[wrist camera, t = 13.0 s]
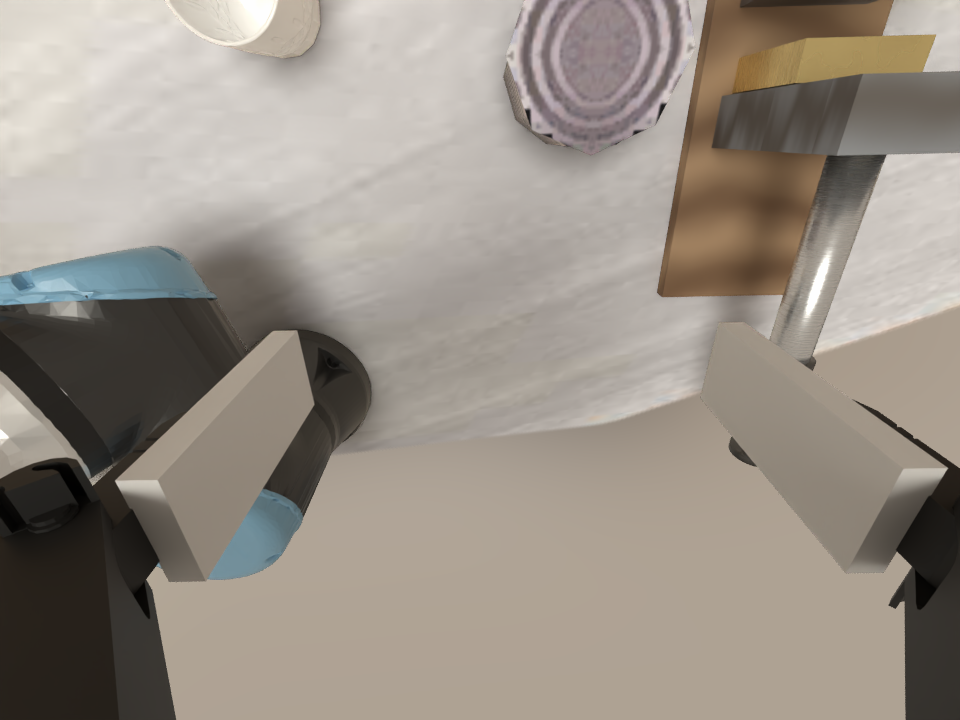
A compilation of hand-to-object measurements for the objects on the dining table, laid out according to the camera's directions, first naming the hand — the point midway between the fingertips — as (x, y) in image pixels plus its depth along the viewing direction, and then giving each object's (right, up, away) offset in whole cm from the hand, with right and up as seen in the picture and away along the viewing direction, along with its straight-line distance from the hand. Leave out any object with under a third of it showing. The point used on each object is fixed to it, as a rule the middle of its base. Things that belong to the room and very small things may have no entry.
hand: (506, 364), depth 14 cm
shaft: (+25, +5, +23) cm, 35 cm away
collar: (+25, +22, +19) cm, 38 cm away
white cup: (-17, +29, +22) cm, 40 cm away
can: (+7, +25, +24) cm, 35 cm away
